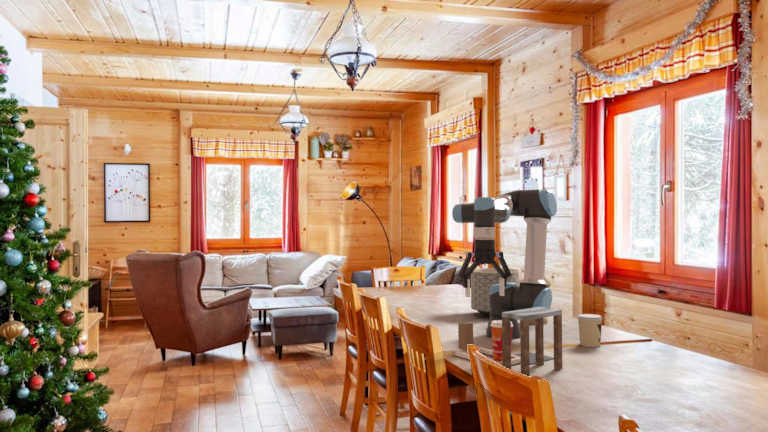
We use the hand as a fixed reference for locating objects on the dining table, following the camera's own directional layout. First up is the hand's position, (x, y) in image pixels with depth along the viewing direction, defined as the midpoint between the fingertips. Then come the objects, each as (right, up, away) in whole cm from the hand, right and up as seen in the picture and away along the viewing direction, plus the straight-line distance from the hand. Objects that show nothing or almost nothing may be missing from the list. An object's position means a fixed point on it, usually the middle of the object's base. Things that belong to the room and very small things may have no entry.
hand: (484, 296), depth 221 cm
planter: (+21, -23, +93) cm, 98 cm away
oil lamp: (+37, -23, +71) cm, 84 cm away
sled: (+1, -23, 0) cm, 23 cm away
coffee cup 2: (+46, -23, +21) cm, 56 cm away
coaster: (+17, -23, +1) cm, 29 cm away
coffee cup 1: (+5, -24, -6) cm, 25 cm away
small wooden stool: (+13, -23, -17) cm, 32 cm away
